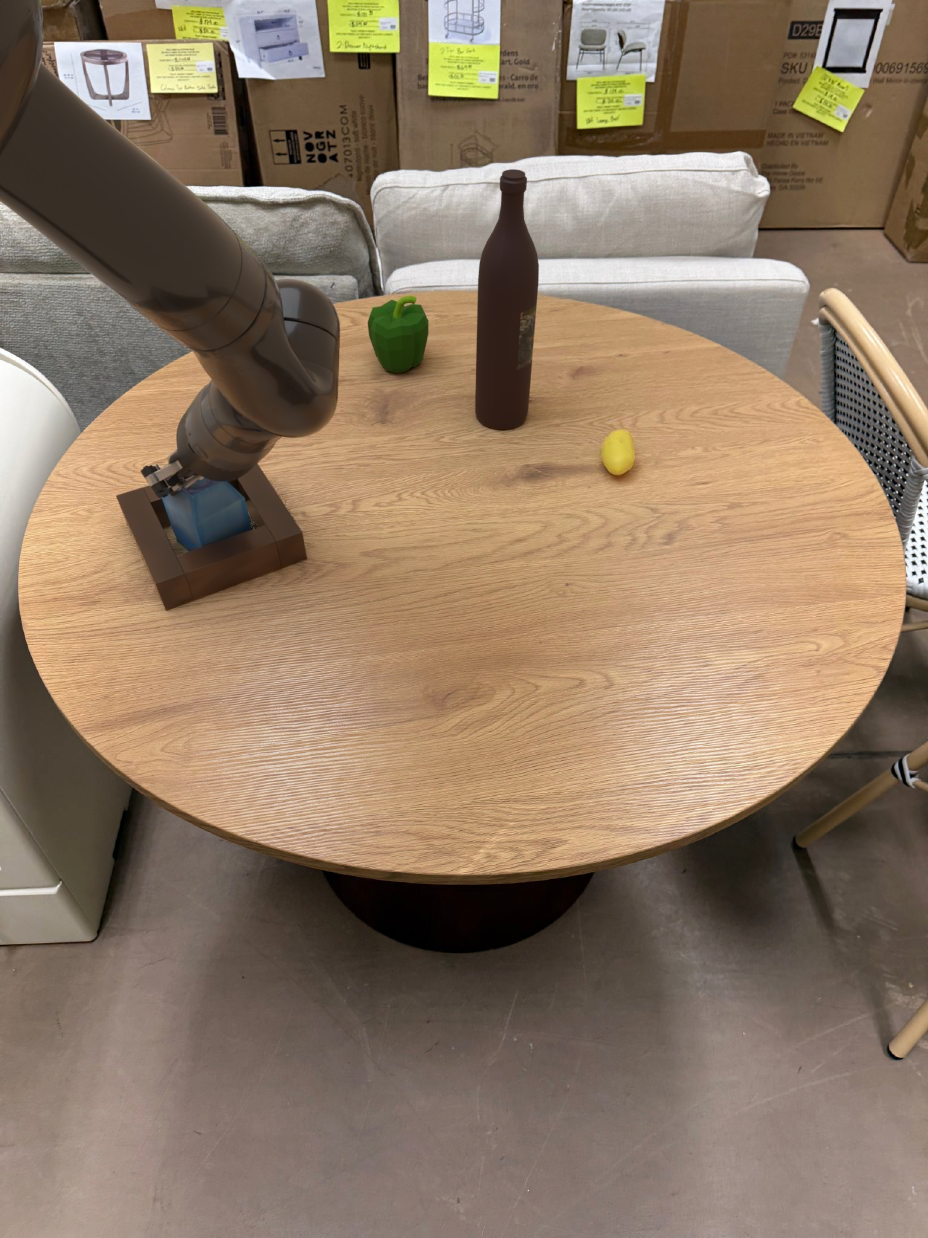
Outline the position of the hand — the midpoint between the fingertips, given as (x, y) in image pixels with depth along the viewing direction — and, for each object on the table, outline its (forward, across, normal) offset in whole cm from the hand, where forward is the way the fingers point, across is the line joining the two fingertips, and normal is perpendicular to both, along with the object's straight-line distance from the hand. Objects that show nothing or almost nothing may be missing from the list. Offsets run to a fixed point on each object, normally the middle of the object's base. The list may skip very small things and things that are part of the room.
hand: (188, 475), depth 86 cm
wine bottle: (0, -41, +11) cm, 42 cm away
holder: (+4, 0, +7) cm, 8 cm away
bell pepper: (+14, -40, -2) cm, 42 cm away
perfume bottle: (+4, 0, +7) cm, 8 cm away
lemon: (-12, -44, +24) cm, 51 cm away
